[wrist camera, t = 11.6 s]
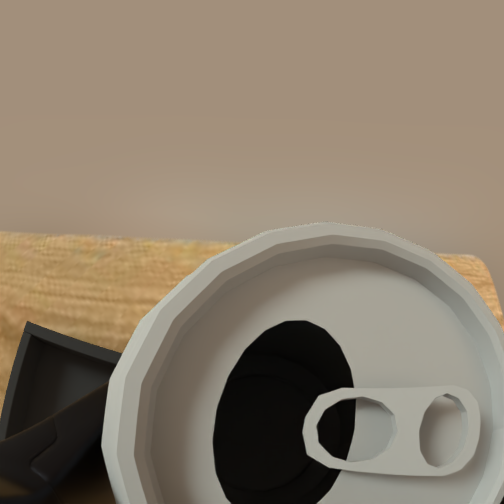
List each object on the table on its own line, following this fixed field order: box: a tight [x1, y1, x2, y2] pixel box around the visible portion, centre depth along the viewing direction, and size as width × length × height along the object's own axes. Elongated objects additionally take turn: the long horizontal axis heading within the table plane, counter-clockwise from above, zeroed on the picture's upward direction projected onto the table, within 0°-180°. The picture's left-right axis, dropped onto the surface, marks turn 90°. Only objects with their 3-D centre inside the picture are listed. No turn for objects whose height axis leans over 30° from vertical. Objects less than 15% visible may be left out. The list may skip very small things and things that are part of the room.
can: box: [101, 222, 504, 504], centre depth 8 cm, size 8×8×12 cm
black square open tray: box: [0, 321, 123, 441], centre depth 16 cm, size 11×11×3 cm
